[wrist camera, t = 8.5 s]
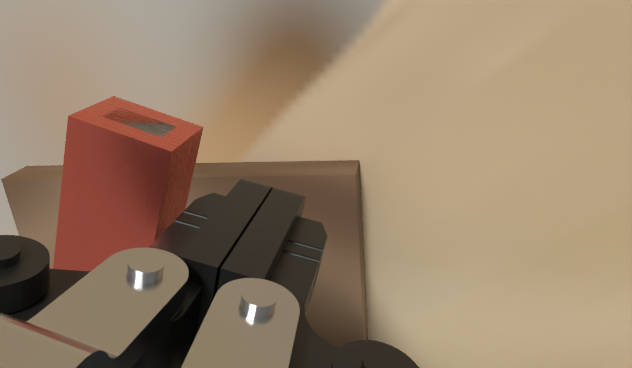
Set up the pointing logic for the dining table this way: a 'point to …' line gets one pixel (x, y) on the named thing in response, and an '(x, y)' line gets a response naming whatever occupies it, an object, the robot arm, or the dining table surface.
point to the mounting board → (298, 177)
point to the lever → (121, 180)
